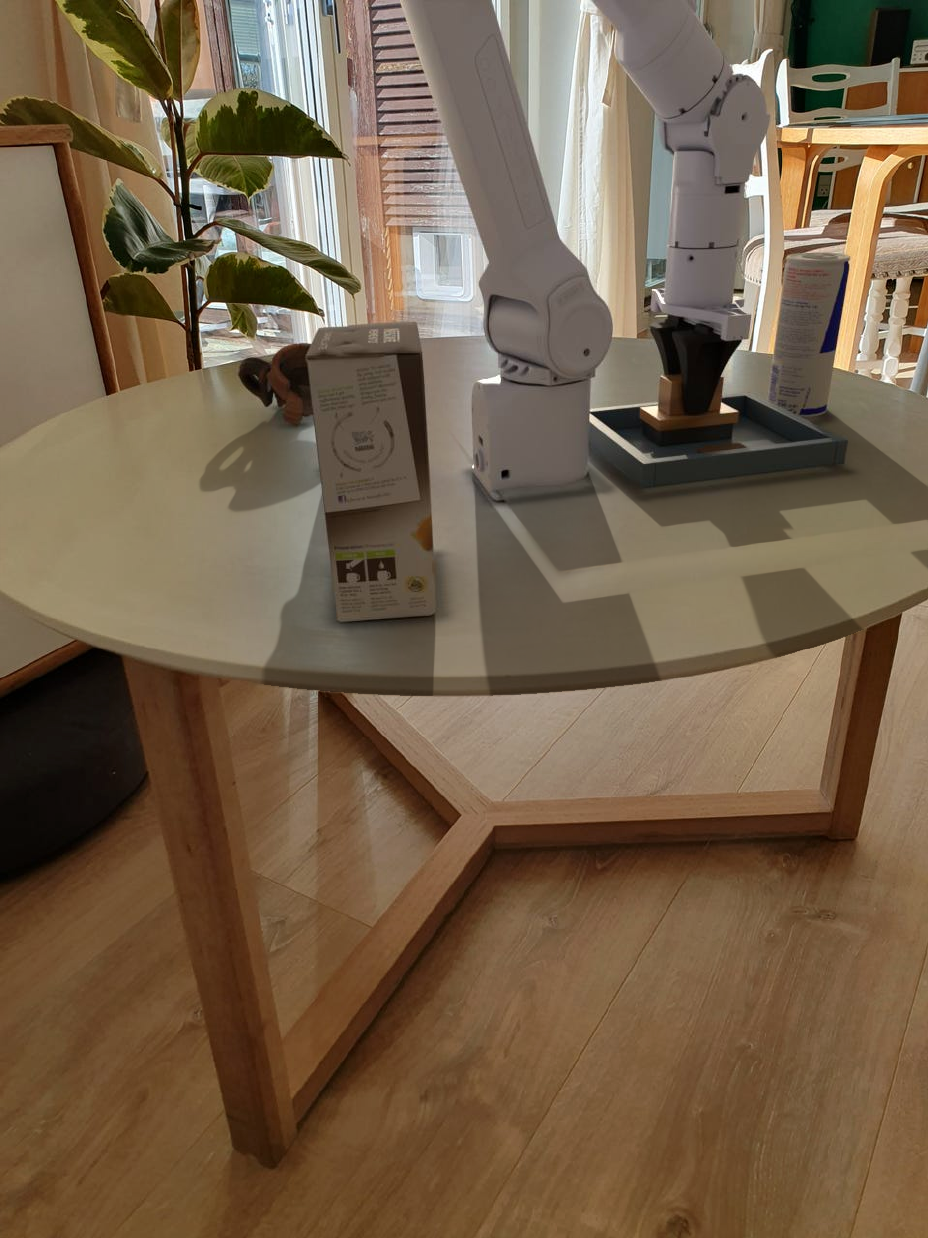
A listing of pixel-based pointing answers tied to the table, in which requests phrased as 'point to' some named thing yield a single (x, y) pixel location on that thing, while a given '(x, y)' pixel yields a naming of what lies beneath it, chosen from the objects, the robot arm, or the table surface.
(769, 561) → the table surface
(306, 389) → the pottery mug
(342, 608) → the coffee box
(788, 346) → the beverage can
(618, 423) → the tray
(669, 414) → the brush
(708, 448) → the mud patch
